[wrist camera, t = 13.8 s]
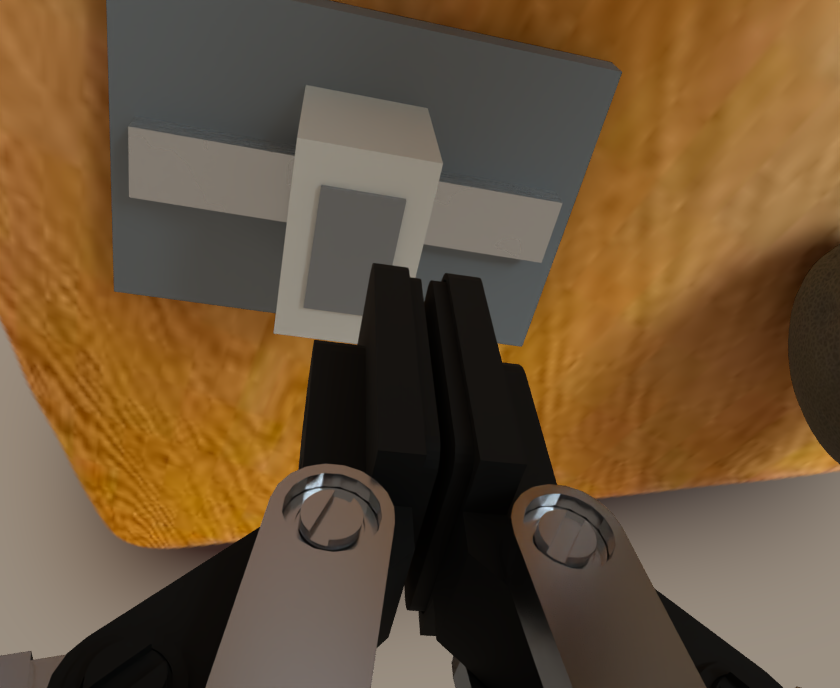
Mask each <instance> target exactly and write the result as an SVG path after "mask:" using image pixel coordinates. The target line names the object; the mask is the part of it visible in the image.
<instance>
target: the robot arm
mask: <svg viewBox="0 0 840 688" xmlns="http://www.w3.org/2000/svg"><path fill="white" fill-rule="evenodd" d="M404 586H405V602H406V608H407V610H412V611H419V624H420V635H426V636H436V639H437V641H438V642H439V643H440V644H441V645H442V646H444V647H445V648H446V649H447V650H448V651H449V652H450V653H451V654H452V655H453V660H452V672H453V679H454V684H455V687H456V688H783V687H782V686H781V685H780V684H779V683H778V682H776V681H775V680H774V679H773V678H772V677H771V676H770V675H769V674H768V673H767V672H765V671H764V670H763V669H762V668H760V667H759V666H757V665H756V664H755V663H753V662H752V661H750V660H749V659H748V658H747V657H745V656H744V655H743V654H741V653H740V652H739V651H737V650H736V649H735V648H733V647H732V646H731V645H729V644H728V643H727V642H725V641H724V640H723V639H721V638H720V637H719V636H717V635H716V634H715V633H713V632H712V631H710V630H709V629H708V628H707V627H705V626H704V625H703V624H701V623H700V622H698V621H697V620H696V619H695V618H693V617H692V616H691V615H689V614H688V613H686V612H685V611H684V610H683V609H681V608H680V607H679V606H677V605H676V604H675V603H673V602H672V601H671V600H669V599H668V598H666V597H665V596H664V595H662V594H661V593H660V592H658V591H657V590H656V589H654V587H653V585H652V583H651V581H650V579H649V577H648V576H647V574H646V572H645V570H644V568H643V566H642V564H641V562H640V560H639V558H638V556H637V554H636V552H635V551H634V549H633V547H632V545H631V543H630V541H629V539H628V537H627V535H626V533H625V532H624V530H623V528H622V526H621V525H620V523H619V522H618V520H617V519H616V518H615V516H614V515H613V513H612V512H611V511H609V510H608V509H607V508H606V507H605V506H604V505H603V504H602V503H600V502H599V501H598V500H596V499H595V498H593V497H591V496H589V495H588V494H586V493H584V492H583V491H580V490H577V489H574V488H571V487H568V486H562V485H557V483H556V479H555V476H554V472H553V469H552V465H551V462H550V458H549V455H548V451H547V448H546V444H545V441H544V437H543V434H542V430H541V426H540V423H539V419H538V416H537V412H536V409H535V405H534V402H533V398H532V395H531V391H530V388H529V384H528V381H527V377H526V374H525V371H524V369H523V367H522V366H520V365H519V364H511V363H502V360H501V356H500V352H499V348H498V344H497V340H496V336H495V332H494V328H493V324H492V320H491V316H490V312H489V308H488V304H487V300H486V295H485V291H484V287H483V283H482V280H481V278H479V277H472V276H465V275H458V274H451V273H445V274H444V275H443V278H442V280H441V281H434V280H431V281H430V282H429V285H428V288H427V292H426V297H425V301H424V298H423V290H422V281H421V279H419V278H412V277H410V273H409V268H408V267H400V266H393V265H386V264H379V263H373V264H372V268H371V272H370V277H369V283H368V288H367V294H366V299H365V305H364V310H363V316H362V321H361V327H360V332H359V338H358V344H357V345H352V344H344V343H336V342H327V341H319V340H314V344H313V351H312V358H311V365H310V373H309V380H308V388H307V396H306V404H305V412H304V421H303V430H302V440H301V450H300V460H299V470H297V471H295V472H293V473H291V474H289V475H288V476H287V477H286V478H285V479H283V480H282V481H281V482H280V483H279V484H278V485H277V487H276V488H275V490H274V492H273V494H272V495H271V497H270V500H269V503H268V506H267V509H266V511H265V514H264V517H263V520H262V523H261V526H260V527H259V528H257V529H256V530H254V531H253V532H251V533H250V534H248V535H246V536H245V537H243V538H242V539H240V540H239V541H237V542H235V543H234V544H232V545H231V546H229V547H228V548H226V549H224V550H223V551H221V552H220V553H218V554H217V555H215V556H213V557H212V558H210V559H209V560H207V561H206V562H204V563H202V564H201V565H199V566H198V567H196V568H195V569H193V570H191V571H190V572H188V573H187V574H185V575H184V576H182V577H181V578H179V579H177V580H176V581H174V582H173V583H171V584H170V585H168V586H166V587H165V588H163V589H162V590H160V591H159V592H157V593H155V594H154V595H152V596H151V597H149V598H148V599H146V600H144V601H143V602H141V603H140V604H138V605H137V606H135V607H133V608H132V609H131V610H129V611H127V612H126V613H124V614H122V615H121V616H119V617H118V618H116V619H115V620H113V621H112V622H110V623H108V624H107V625H106V626H104V627H102V628H101V629H99V630H97V631H96V632H94V633H93V634H91V635H90V636H88V637H87V638H86V639H84V640H83V641H82V642H81V643H79V644H78V645H77V646H76V647H74V648H73V649H72V650H71V651H70V652H68V653H67V654H66V655H61V656H54V657H48V658H42V659H36V660H33V657H32V652H31V651H27V652H21V653H14V654H8V655H1V656H0V688H371V682H372V675H373V669H374V661H375V655H376V649H377V647H378V646H379V645H381V644H382V642H384V641H385V640H386V639H387V638H388V637H389V634H390V630H391V627H392V624H393V620H394V617H395V614H396V610H397V607H398V603H399V600H400V597H401V594H402V590H403V587H404ZM796 688H800V687H796Z"/></svg>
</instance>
